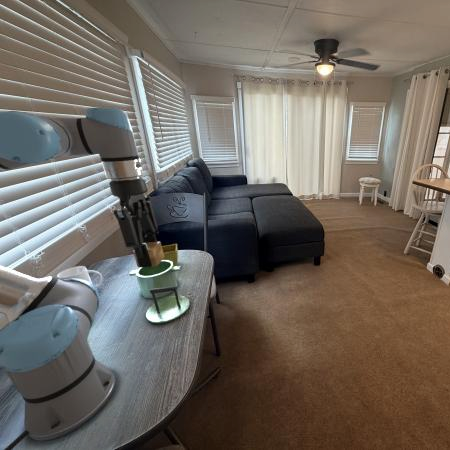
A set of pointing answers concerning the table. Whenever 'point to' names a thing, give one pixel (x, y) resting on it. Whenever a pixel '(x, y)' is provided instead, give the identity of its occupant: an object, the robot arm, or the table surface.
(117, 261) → the table surface
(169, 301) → the lid
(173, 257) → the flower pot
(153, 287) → the green cooking pot
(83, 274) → the mug
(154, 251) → the block
